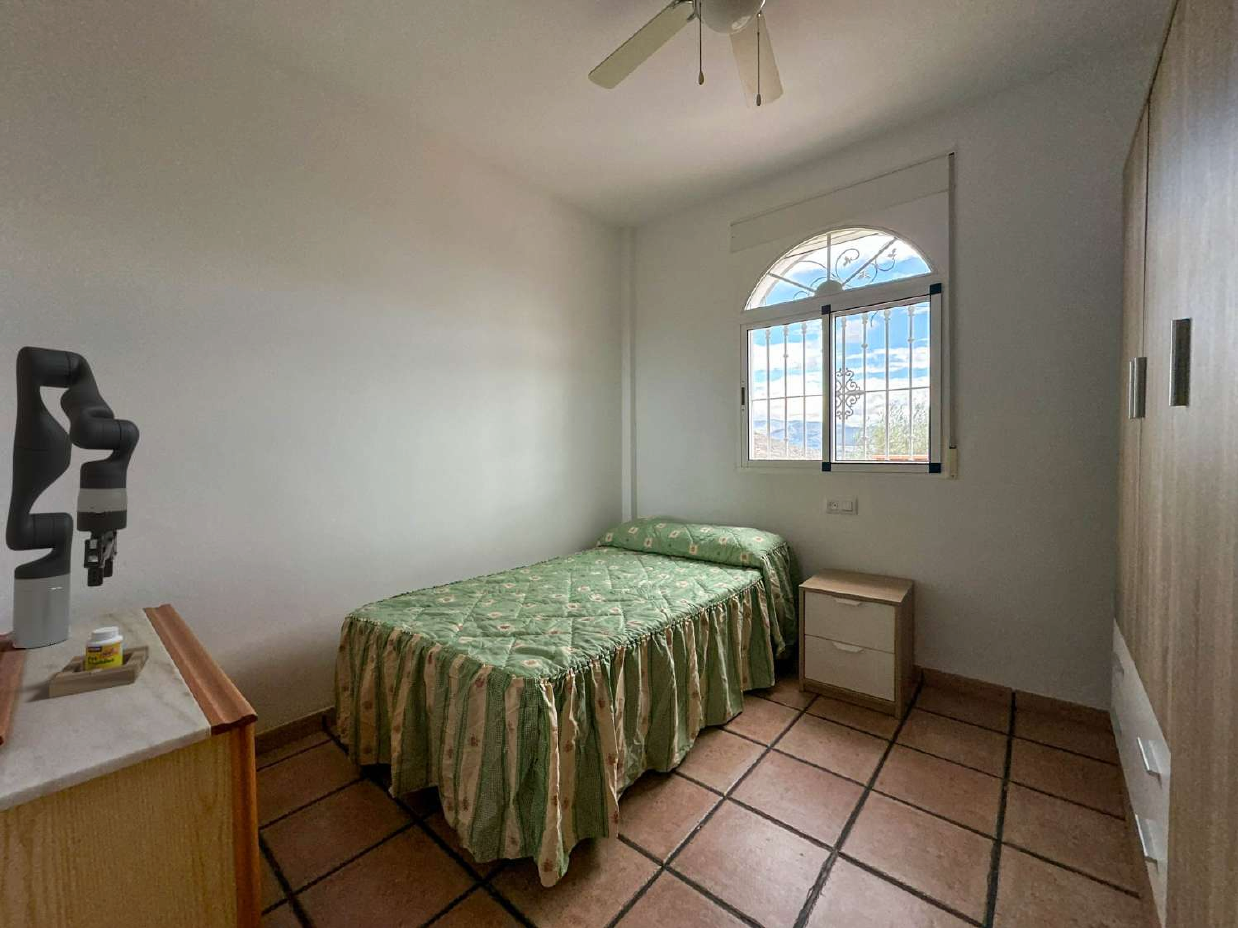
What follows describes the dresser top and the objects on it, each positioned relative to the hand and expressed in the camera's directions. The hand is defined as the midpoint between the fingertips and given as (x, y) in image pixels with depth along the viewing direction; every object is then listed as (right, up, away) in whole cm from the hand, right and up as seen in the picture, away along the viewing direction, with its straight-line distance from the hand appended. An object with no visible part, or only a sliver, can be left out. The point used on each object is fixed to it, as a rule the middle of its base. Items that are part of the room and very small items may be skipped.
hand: (100, 581), depth 105 cm
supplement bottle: (+1, -21, -1) cm, 21 cm away
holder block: (+2, -21, -1) cm, 21 cm away
